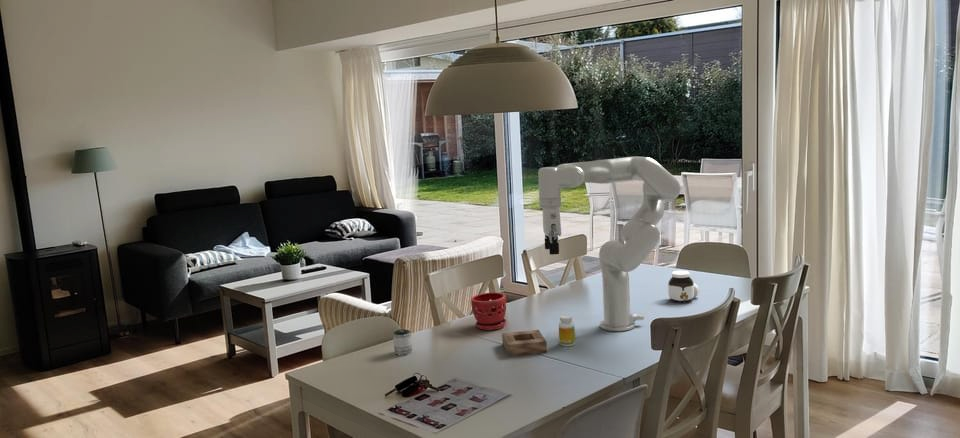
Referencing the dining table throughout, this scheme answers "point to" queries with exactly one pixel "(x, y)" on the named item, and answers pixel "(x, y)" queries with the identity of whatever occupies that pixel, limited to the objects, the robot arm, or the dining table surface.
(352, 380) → the dining table surface
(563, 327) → the supplement bottle
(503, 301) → the plant pot
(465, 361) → the dining table surface
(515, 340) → the socket block
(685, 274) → the spread jar
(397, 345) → the camera lens
